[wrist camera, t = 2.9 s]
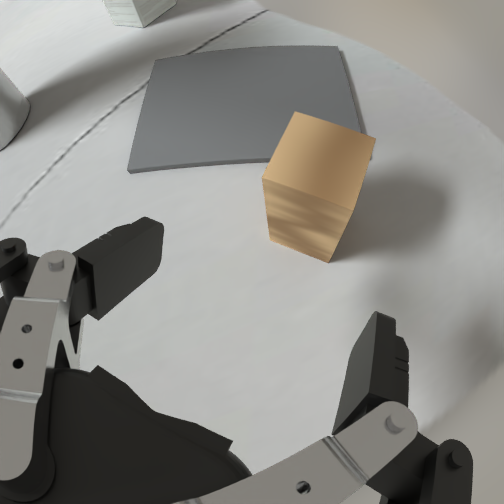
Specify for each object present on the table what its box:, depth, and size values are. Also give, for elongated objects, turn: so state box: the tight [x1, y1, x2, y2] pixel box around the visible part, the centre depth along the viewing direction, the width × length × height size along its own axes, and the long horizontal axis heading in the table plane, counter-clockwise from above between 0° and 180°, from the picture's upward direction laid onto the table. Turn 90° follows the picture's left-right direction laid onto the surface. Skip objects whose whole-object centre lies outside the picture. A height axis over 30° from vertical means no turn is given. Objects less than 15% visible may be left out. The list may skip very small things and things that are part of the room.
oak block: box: [262, 112, 376, 263], centre depth 19 cm, size 4×4×9 cm
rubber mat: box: [127, 46, 361, 173], centre depth 28 cm, size 20×15×1 cm
